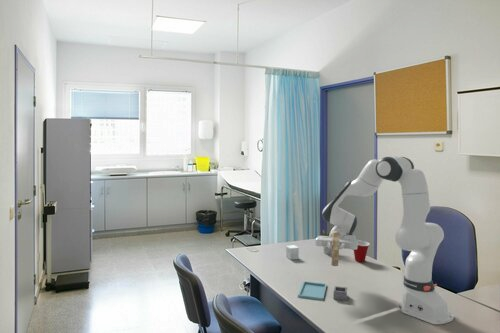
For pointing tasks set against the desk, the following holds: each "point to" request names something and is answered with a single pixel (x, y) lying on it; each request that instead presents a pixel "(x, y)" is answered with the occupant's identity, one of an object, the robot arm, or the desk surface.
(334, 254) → the beech pin
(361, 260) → the plastic cup
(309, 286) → the tray
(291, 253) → the product box
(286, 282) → the desk surface
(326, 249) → the house plant
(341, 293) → the square cup
